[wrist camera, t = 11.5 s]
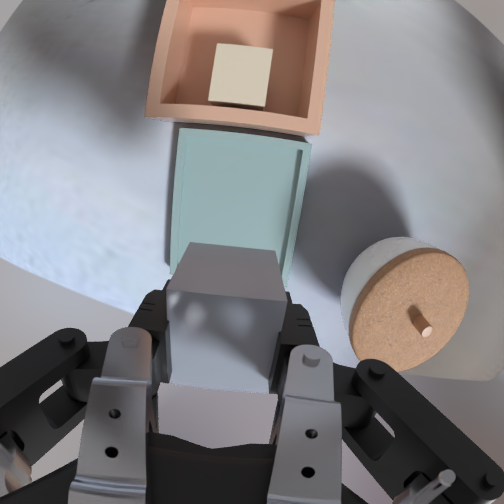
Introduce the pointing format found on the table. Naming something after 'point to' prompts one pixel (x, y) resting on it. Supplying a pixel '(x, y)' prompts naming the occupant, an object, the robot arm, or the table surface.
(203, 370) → the slate gray cube
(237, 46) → the cream matte cube
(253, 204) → the parts tray
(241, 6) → the salmon storage bin
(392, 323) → the lidded jar
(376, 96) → the table surface
